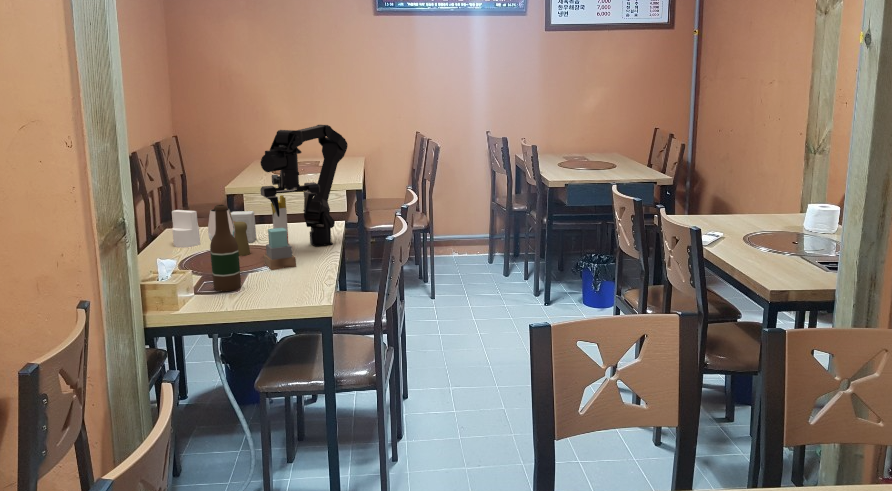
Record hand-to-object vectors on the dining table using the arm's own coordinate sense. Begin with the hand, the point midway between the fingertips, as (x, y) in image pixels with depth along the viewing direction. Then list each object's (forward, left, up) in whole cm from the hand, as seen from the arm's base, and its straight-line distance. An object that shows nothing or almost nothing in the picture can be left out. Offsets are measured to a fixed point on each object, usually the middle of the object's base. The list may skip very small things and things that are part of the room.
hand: (292, 215), depth 255 cm
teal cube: (+9, +14, -6) cm, 17 cm away
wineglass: (+26, +16, -13) cm, 33 cm away
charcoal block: (+9, +14, -10) cm, 19 cm away
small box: (+11, -27, -13) cm, 32 cm away
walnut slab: (+8, +14, -13) cm, 21 cm away
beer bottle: (+28, +31, -13) cm, 44 cm away
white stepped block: (+30, -32, -13) cm, 46 cm away
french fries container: (+2, -10, -13) cm, 17 cm away
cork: (+16, -8, -13) cm, 22 cm away
